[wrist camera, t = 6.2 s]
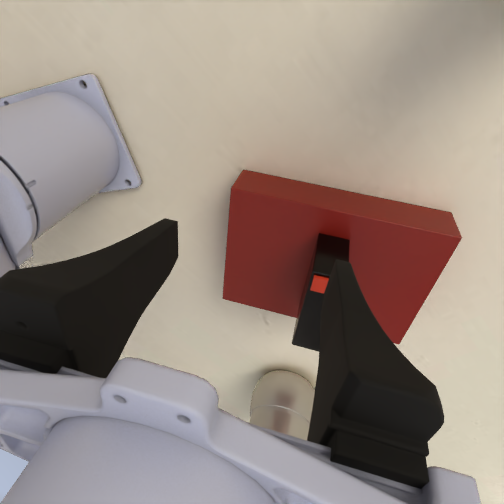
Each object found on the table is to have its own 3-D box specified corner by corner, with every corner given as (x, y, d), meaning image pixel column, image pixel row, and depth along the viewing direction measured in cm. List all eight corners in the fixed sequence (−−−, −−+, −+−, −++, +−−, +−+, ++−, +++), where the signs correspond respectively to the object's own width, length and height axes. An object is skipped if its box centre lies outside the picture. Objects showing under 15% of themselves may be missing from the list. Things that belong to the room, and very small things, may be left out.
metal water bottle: (308, 406, 39) (275, 677, 24) (251, 385, 40) (182, 639, 24) (328, 375, 35) (304, 679, 20) (265, 353, 36) (191, 633, 20)
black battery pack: (325, 309, 26) (320, 355, 23) (299, 302, 26) (290, 347, 23) (350, 239, 22) (348, 282, 19) (318, 232, 22) (311, 273, 19)
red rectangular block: (232, 275, 30) (222, 299, 28) (243, 169, 24) (230, 187, 22) (396, 316, 29) (399, 344, 26) (451, 212, 22) (462, 237, 20)
